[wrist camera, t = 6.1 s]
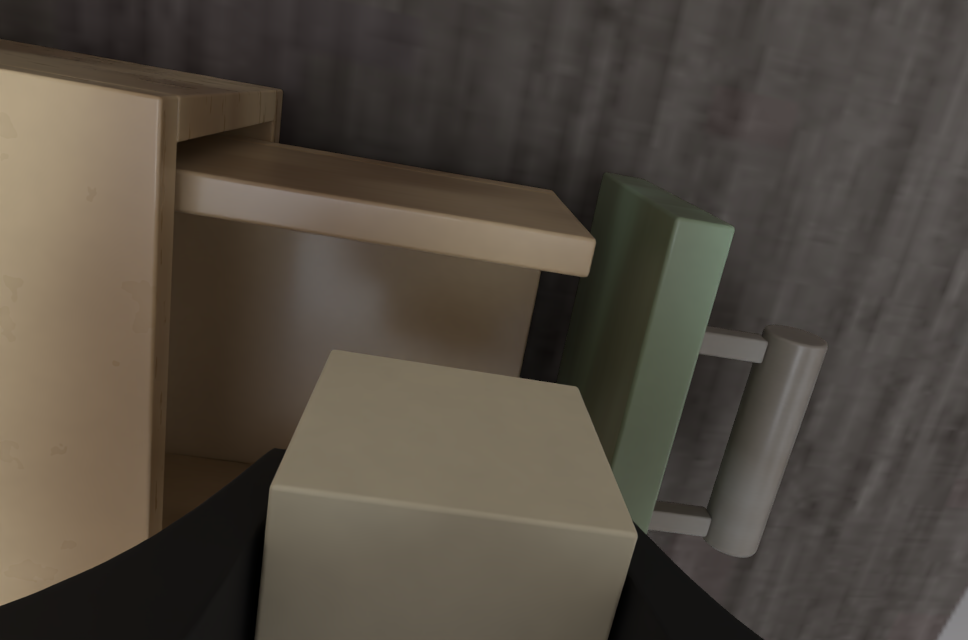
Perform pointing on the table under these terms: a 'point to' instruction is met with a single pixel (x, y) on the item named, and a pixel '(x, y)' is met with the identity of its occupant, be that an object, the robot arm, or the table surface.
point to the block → (442, 511)
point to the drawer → (458, 314)
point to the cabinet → (91, 295)
